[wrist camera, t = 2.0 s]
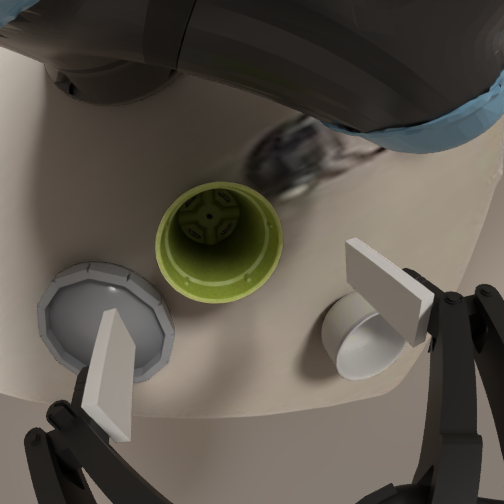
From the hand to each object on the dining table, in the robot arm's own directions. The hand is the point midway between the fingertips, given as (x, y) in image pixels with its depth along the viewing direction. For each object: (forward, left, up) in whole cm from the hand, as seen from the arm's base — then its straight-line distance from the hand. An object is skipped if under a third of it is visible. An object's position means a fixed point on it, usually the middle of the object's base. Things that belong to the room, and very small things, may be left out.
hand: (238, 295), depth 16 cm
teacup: (+18, +16, -15) cm, 28 cm away
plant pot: (0, 0, -15) cm, 15 cm away
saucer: (+9, -15, -15) cm, 23 cm away
